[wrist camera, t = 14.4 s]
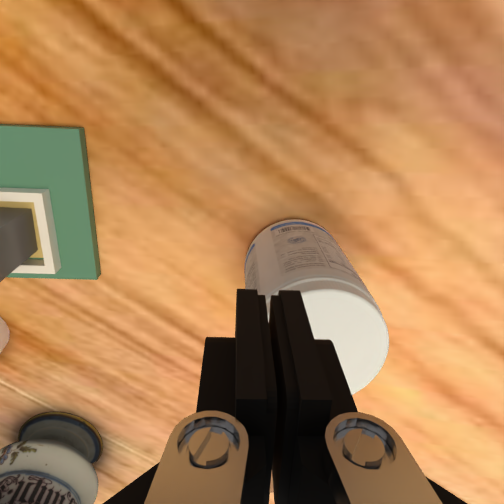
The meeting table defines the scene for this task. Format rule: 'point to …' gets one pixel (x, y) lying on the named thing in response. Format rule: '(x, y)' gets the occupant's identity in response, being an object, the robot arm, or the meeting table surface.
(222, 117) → the meeting table surface
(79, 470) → the apothecary jar
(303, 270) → the supplement tub
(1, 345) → the white cylinder
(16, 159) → the board
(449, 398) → the meeting table surface
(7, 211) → the plug
